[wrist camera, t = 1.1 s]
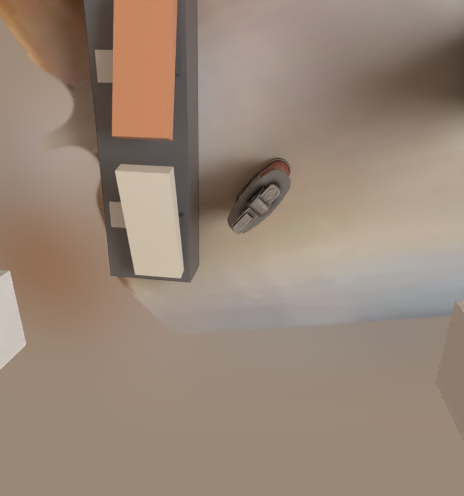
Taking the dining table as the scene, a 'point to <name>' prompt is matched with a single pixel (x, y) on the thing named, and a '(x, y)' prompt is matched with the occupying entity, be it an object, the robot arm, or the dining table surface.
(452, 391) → the robot arm
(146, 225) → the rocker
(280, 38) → the dining table surface
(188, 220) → the rocker switch base
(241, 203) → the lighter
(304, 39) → the dining table surface
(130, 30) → the rocker middle
